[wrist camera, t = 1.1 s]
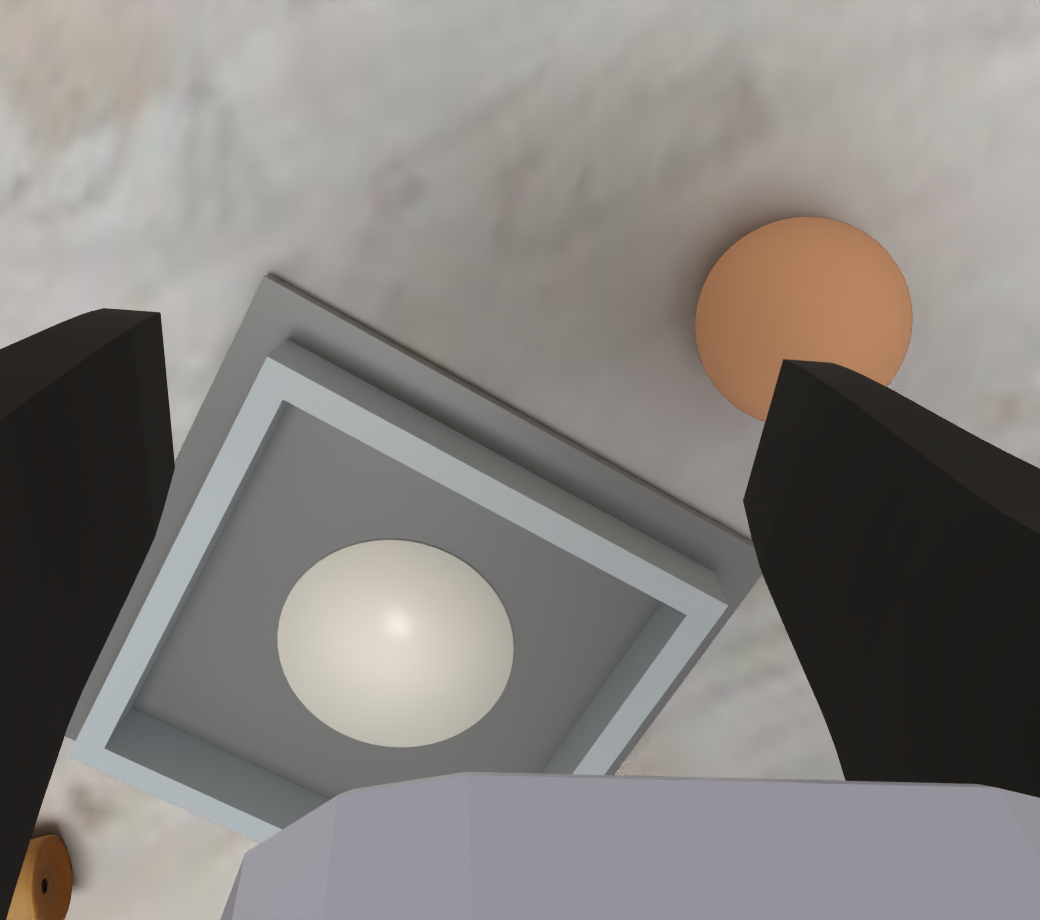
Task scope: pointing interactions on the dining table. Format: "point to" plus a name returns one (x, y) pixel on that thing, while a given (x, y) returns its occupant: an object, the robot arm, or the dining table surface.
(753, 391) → the rubber ball
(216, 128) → the dining table surface
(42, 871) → the kendama
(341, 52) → the dining table surface
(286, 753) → the corral
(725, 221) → the dining table surface
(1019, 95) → the dining table surface
